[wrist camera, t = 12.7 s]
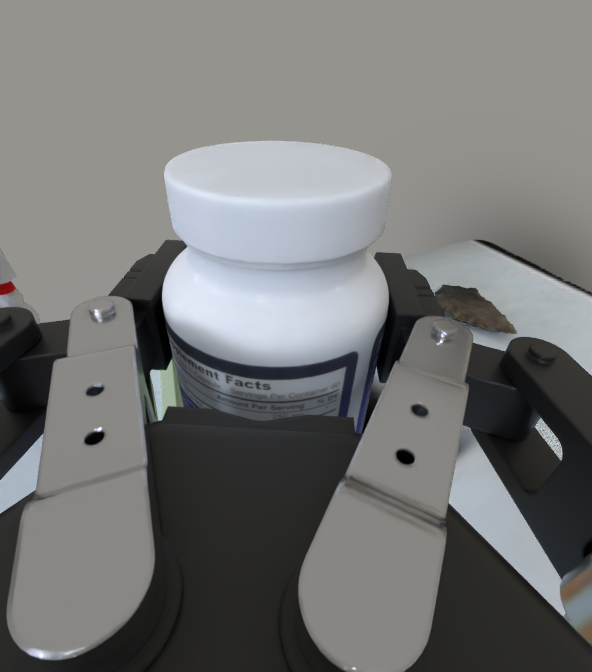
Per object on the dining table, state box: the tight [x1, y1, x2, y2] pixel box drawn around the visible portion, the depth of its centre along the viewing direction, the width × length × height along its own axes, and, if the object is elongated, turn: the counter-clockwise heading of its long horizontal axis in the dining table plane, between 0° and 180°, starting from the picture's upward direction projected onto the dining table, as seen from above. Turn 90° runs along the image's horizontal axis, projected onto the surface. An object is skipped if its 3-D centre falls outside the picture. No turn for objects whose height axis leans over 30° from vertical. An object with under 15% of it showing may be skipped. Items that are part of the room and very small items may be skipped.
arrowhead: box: [434, 285, 517, 334], centre depth 43 cm, size 7×10×1 cm
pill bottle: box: [162, 141, 392, 434], centre depth 11 cm, size 6×6×10 cm
